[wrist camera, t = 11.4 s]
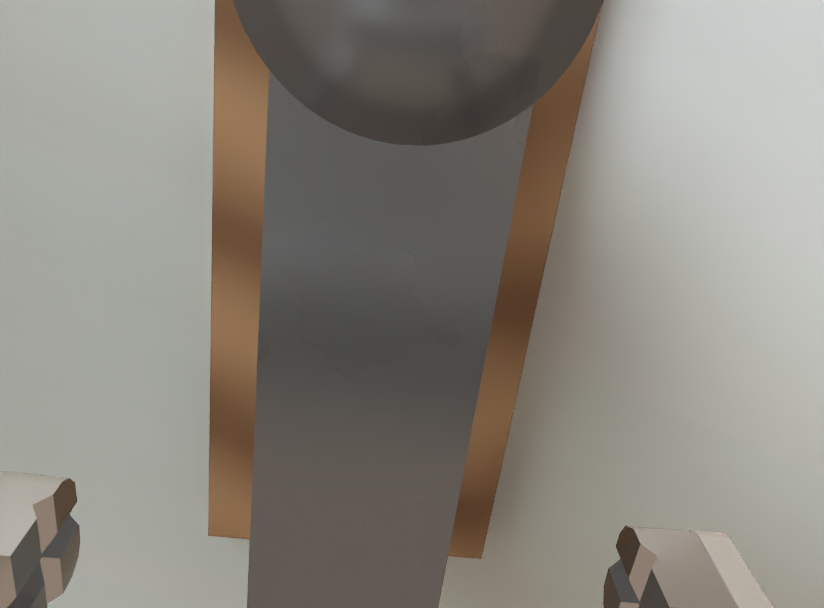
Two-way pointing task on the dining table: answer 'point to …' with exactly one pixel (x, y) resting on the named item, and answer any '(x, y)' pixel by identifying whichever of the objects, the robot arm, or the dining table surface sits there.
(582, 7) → the metal bar
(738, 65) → the dining table surface
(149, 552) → the dining table surface
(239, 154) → the spanner rest
